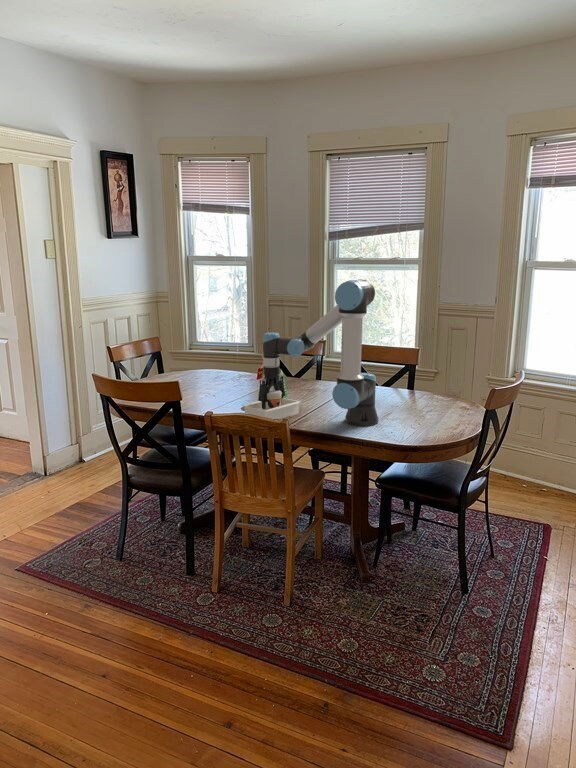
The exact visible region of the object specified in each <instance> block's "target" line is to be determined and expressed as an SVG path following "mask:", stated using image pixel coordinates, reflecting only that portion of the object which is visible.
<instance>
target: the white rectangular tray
mask: <svg viewBox="0 0 576 768" xmlns="http://www.w3.org/2000/svg"><path fill="white" fill-rule="evenodd" d="M302 403H303V402H302V401H298V400H295V399H289V398H285V397H284V398H282V404H281V406H279V407H275V408H272V409H268V410H263V409H262V402H261V401H258V400H257V401H254V402H253V401H252V402H249V403H246V404H245V403H244V404H241V406H242V407H245V411H244V414H245V413H248V414H254V415H258V416H262V417H268V418H272V419H279V420H281V419H285V418H289V417H291V416H295V415H299V414H300V410H299V409H300V408H299V404H302Z"/></svg>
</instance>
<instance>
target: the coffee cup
mask: <svg viewBox="0 0 576 768" xmlns="http://www.w3.org/2000/svg"><path fill="white" fill-rule="evenodd" d="M281 394H282V392H281V391H280V390H279V391H277V390H275V389H274V388H270V391H269V393H267V401H266V402H268V409H272V408H275V407H279V406H281Z"/></svg>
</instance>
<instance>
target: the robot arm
mask: <svg viewBox="0 0 576 768" xmlns="http://www.w3.org/2000/svg"><path fill="white" fill-rule="evenodd" d="M375 297H376V290H375V287H374V285H373V284H372V283H371V282H370V281H369V280H366V279H356V280H354V279H352V280H347V281H344V282H341V284H340V285H338V287H337V288H336V290H335V292H334V301H335V304H336V305H335V306H334V307H333V308H332V309H331V310H329V311H328V312H327V313H325V314H324V315H323V316H322V317H321V318H320V319H318V320H317V321H316V322H314V324H313V325H311V326H310V327H308V328H307V329H306V330H305V331H304V332H303V333H302V334H300V335H298V336H294V337H290V338H288V337H287V338H283V337H281V336H280V334H279V332H274V331H273V332H265V333H264V334H263V335H262V353H263V361H262V364H263V375H264V378H263V379H259V389H258V390H259V391H258V397H257V401H261V402H262V409H263V410H268V402H266V401H267V393H269V391H270V389H272V387H273V389H275V390H277V391H279V390H280V391H281V392H282V394H281V404H282V398H285V396H286V391H285V384H284V376H283V375H279V374H280V373H281V371H280V369H281V368H280V364H281V363H280V355H286V356H292V357H299V356H302V354H303V353H304V352H307V351H311V350H312V349H313V348H314V347H315V345H316V344H317V343H318V342H319V341H320V340H322V339H324V337H326V336H327V335H329V334H330V333H331V332H333V330H335V329H336V328H337V327H338V326H339V325H341V342H340V343H341V347H340V348H341V350H340V351H341V352H340V373H338V375H337V376H336V385H335V386H334V387H333V389H332V392H331V394H332V400H333V402H334V403H335V405H337V406H338V407H339V408H341V409H344V410H347V412H346V415H345V416H344V421H345V423H346V424H348V425H351V426H355V427H374V426H376V425H378V424H379V415H378V413H377V408H376V389H377V386H376V384H377V379H376V377H377V376H376V375H375V374H373V373H368V372H361V371H362V348H363V345H362V344H363V320H364V316H365V315H367V310H368V309H367V307H368V306H369V305H371V304H372V303H373V301H374V300H375Z"/></svg>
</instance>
